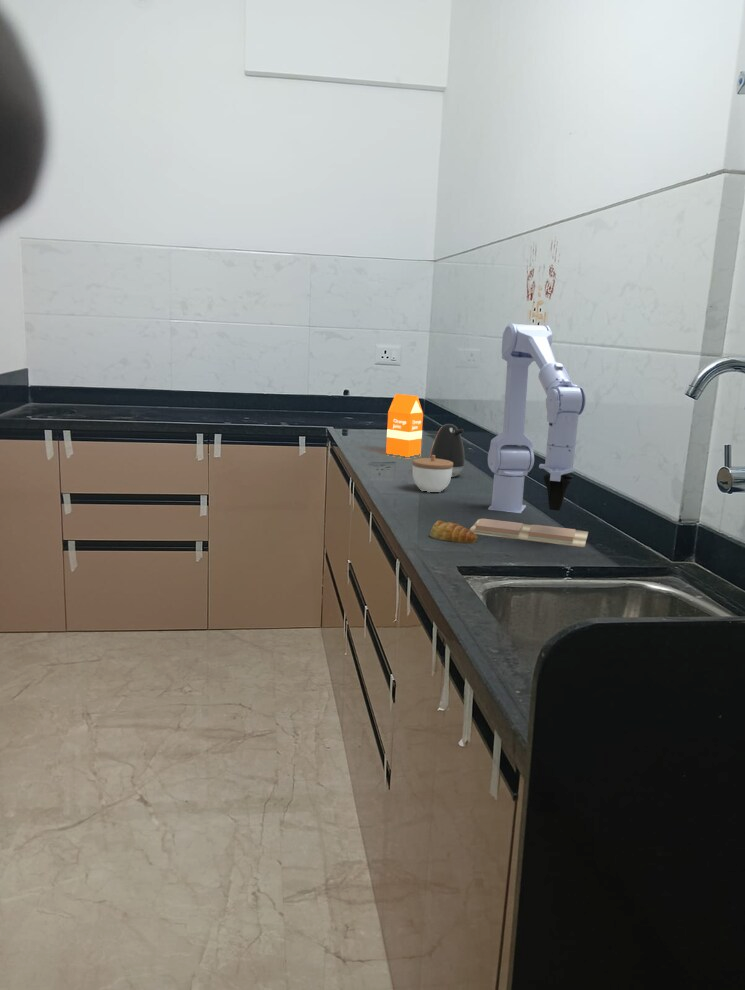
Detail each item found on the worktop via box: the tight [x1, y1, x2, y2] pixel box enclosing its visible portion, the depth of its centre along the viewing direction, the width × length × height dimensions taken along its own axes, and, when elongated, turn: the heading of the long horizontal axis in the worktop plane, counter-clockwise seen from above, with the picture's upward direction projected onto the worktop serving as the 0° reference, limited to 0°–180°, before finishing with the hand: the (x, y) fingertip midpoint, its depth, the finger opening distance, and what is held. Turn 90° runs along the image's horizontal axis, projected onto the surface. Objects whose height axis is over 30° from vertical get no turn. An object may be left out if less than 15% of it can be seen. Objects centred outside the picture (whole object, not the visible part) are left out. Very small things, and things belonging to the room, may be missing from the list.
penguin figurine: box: [429, 423, 466, 478], centre depth 239 cm, size 10×10×15 cm
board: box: [469, 518, 589, 548], centre depth 177 cm, size 14×24×1 cm, turn 72°
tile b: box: [528, 523, 576, 544], centre depth 173 cm, size 1×9×7 cm
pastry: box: [429, 520, 479, 544], centre depth 169 cm, size 9×7×4 cm
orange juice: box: [385, 393, 424, 457], centre depth 272 cm, size 8×9×20 cm
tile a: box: [475, 518, 524, 537], centre depth 177 cm, size 1×9×7 cm
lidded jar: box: [411, 455, 453, 493], centre depth 218 cm, size 11×11×9 cm
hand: (554, 509), depth 174 cm, fingers closed
